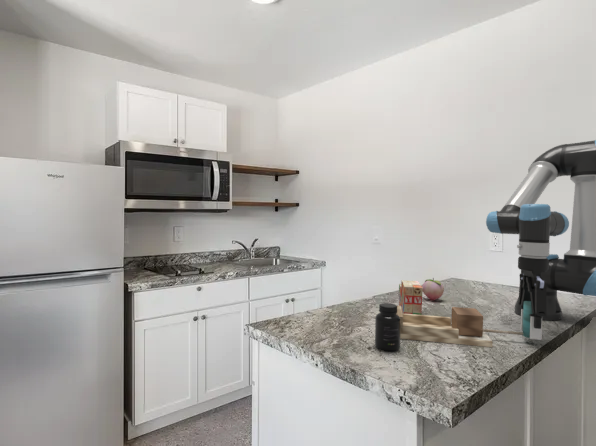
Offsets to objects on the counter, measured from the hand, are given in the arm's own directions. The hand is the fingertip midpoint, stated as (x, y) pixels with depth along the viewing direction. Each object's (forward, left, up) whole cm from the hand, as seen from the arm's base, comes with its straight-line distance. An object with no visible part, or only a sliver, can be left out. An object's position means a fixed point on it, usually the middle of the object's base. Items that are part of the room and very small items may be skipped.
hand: (530, 334), depth 107 cm
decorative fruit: (+21, -49, -3) cm, 53 cm away
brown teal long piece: (+9, 0, 0) cm, 10 cm away
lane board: (+25, 0, -2) cm, 25 cm away
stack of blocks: (+33, -24, -3) cm, 41 cm away
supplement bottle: (+41, +16, -3) cm, 44 cm away
